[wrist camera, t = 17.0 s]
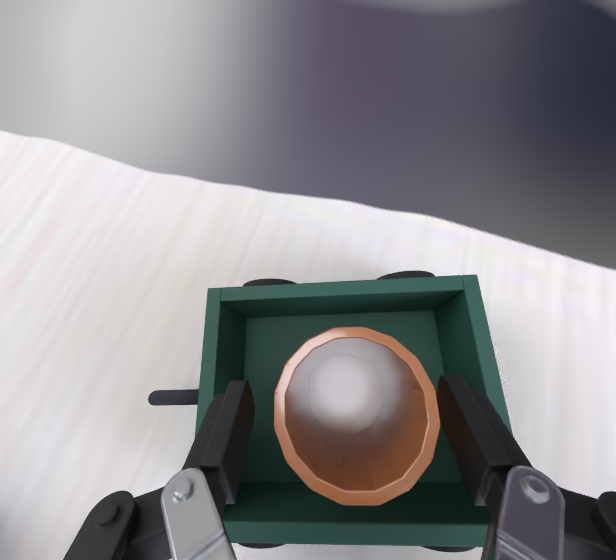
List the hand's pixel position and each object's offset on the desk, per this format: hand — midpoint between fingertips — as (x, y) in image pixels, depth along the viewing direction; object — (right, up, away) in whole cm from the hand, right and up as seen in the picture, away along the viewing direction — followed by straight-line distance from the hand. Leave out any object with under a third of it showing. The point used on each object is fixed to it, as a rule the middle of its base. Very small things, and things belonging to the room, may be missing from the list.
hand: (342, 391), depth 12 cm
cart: (+1, -3, +7) cm, 8 cm away
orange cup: (+1, -2, +6) cm, 7 cm away
